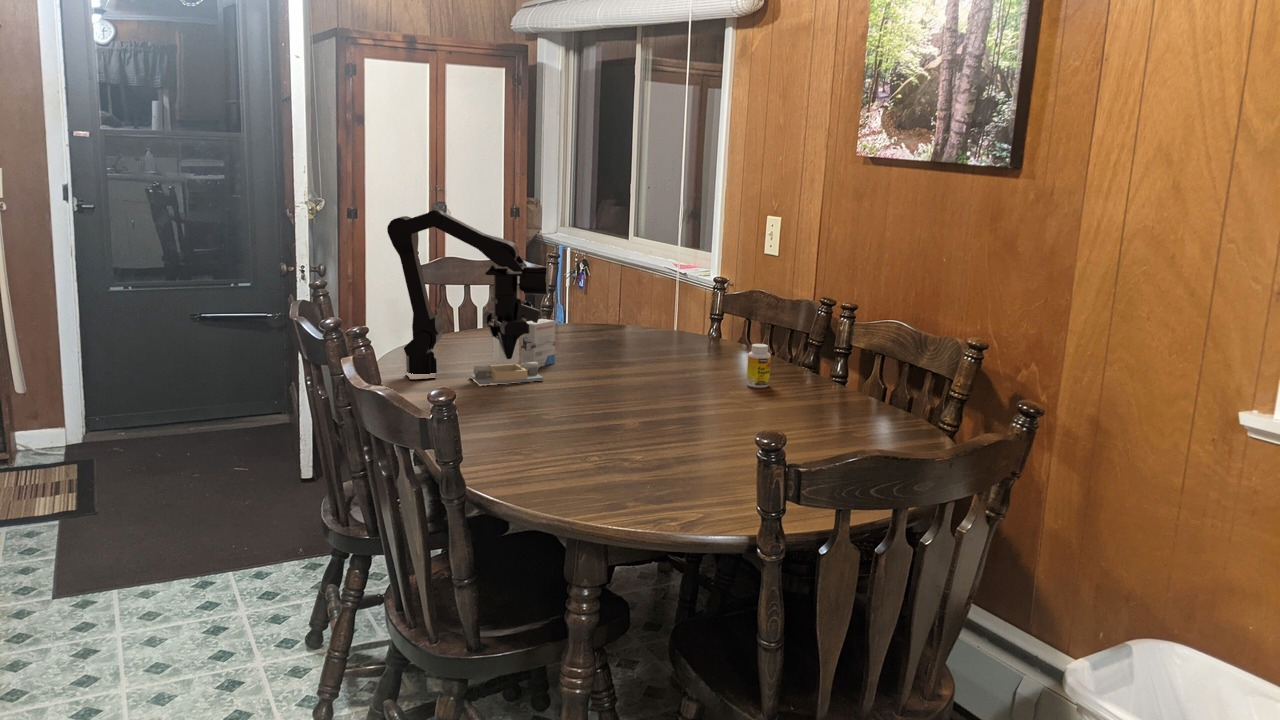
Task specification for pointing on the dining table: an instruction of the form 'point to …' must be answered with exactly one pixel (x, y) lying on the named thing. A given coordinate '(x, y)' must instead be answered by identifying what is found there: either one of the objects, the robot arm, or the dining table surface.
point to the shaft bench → (507, 373)
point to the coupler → (500, 354)
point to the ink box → (539, 343)
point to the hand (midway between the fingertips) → (505, 356)
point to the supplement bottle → (758, 366)
